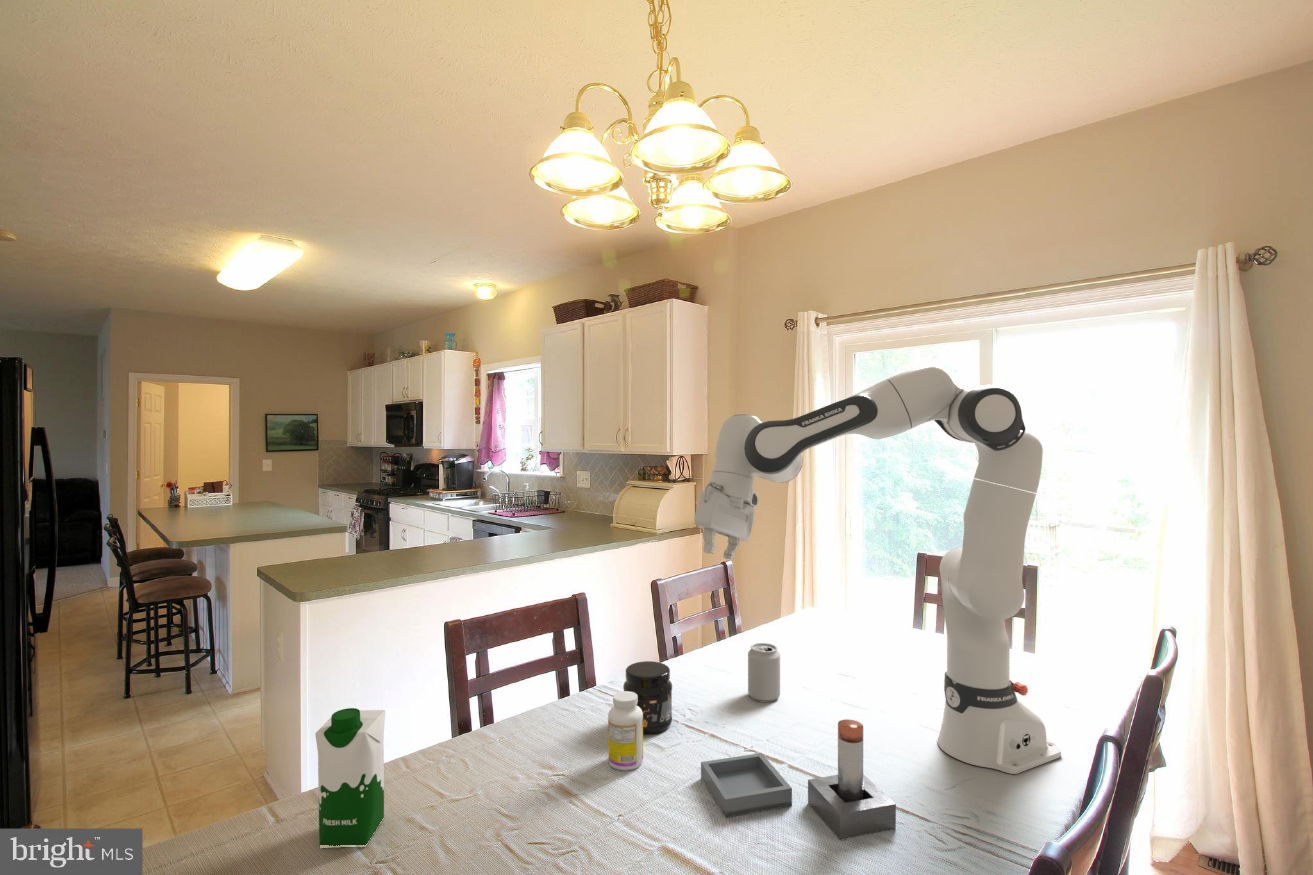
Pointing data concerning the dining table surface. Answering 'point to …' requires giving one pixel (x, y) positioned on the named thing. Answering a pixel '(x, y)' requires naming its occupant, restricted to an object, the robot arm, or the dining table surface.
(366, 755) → the milk carton
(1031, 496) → the robot arm
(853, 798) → the pin
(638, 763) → the supplement bottle
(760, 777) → the tray
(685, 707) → the dining table surface
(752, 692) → the can
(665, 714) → the supplement container
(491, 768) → the dining table surface
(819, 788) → the socket
